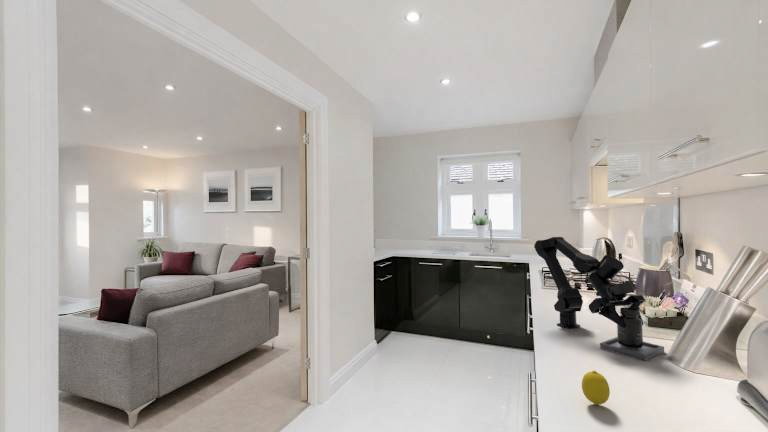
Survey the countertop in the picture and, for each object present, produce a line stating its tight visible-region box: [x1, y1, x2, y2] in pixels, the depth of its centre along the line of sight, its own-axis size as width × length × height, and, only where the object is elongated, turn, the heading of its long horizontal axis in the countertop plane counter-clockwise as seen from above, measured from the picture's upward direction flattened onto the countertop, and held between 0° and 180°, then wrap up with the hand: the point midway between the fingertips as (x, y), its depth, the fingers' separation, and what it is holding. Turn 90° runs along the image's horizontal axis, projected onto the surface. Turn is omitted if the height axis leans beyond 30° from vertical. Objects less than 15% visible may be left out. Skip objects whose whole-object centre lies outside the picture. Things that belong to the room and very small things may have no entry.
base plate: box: [599, 336, 665, 362], centre depth 110 cm, size 13×13×2 cm
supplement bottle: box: [616, 307, 644, 348], centre depth 110 cm, size 7×7×12 cm
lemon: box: [581, 370, 611, 406], centre depth 78 cm, size 6×6×8 cm
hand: (633, 326), depth 109 cm, fingers closed on supplement bottle, 7 cm apart
